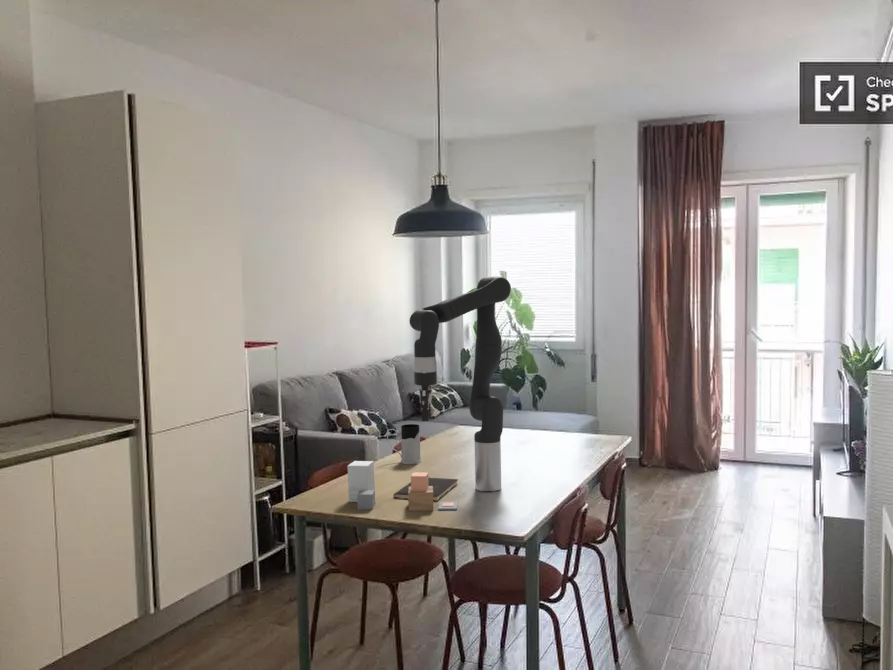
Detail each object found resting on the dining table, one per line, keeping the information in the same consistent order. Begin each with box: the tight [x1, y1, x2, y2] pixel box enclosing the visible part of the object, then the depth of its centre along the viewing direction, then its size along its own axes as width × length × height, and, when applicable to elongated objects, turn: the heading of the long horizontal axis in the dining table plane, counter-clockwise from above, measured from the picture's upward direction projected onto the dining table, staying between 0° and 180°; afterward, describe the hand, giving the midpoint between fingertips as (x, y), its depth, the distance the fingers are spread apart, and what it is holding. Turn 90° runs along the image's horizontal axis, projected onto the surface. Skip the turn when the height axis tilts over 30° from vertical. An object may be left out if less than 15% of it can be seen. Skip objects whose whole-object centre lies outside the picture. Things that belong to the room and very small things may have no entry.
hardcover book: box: [393, 477, 459, 501], centre depth 269 cm, size 16×23×2 cm
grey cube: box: [356, 489, 376, 510], centre depth 250 cm, size 5×5×5 cm
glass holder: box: [386, 423, 423, 465], centre depth 315 cm, size 9×14×15 cm, turn 88°
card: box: [437, 500, 459, 511], centre depth 248 cm, size 8×6×1 cm
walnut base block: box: [407, 486, 435, 511], centre depth 249 cm, size 8×8×6 cm
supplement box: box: [347, 460, 376, 503], centre depth 259 cm, size 7×7×13 cm
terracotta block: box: [410, 471, 429, 492], centre depth 248 cm, size 5×5×5 cm
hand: (426, 418), depth 253 cm, fingers open, 8 cm apart
